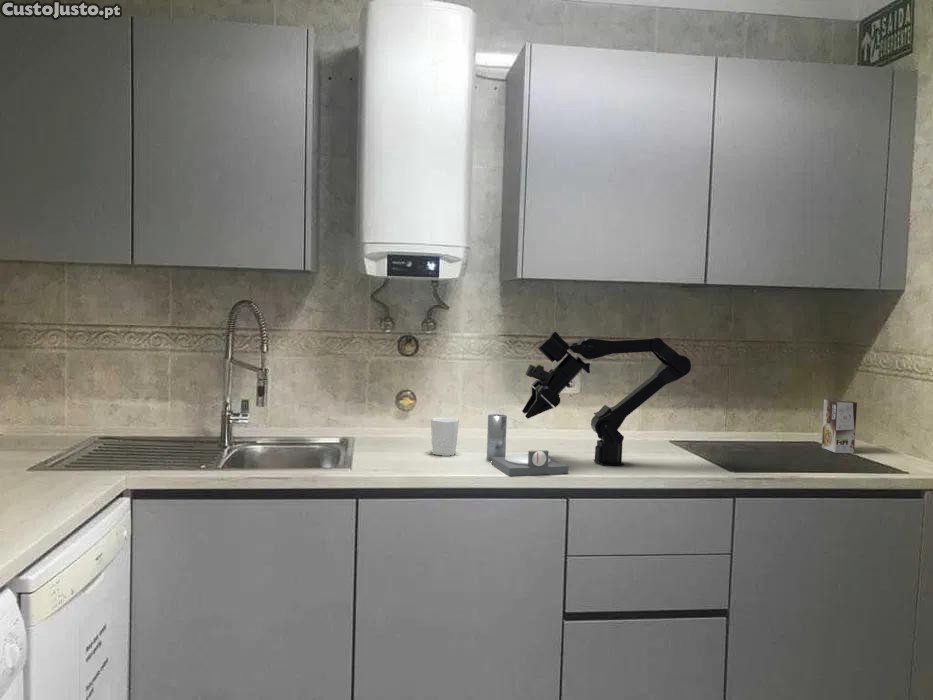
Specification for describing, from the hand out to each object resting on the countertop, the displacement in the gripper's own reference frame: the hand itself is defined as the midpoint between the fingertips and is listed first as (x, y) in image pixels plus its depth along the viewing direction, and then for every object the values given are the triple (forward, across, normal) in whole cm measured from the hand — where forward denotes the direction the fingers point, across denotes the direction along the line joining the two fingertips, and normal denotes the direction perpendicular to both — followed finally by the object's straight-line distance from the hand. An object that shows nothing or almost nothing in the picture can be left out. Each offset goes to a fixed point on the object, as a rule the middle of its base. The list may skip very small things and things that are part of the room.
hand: (524, 414), depth 201 cm
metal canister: (+15, 0, +3) cm, 15 cm away
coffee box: (-58, -29, +86) cm, 108 cm away
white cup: (+24, -8, -8) cm, 27 cm away
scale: (+9, +10, +9) cm, 16 cm away
